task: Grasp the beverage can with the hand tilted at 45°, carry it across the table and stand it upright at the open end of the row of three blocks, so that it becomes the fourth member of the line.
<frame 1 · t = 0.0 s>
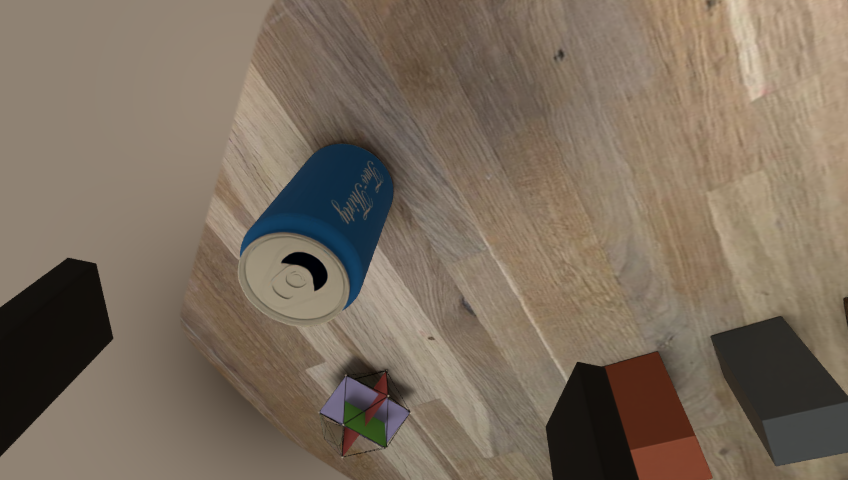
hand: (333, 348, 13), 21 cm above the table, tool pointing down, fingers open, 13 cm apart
block 2: (751, 348, 38), on the table
beverage can: (350, 182, 34), on the table
geometric puzzle: (372, 382, 44), on the table
block 3: (635, 379, 40), on the table
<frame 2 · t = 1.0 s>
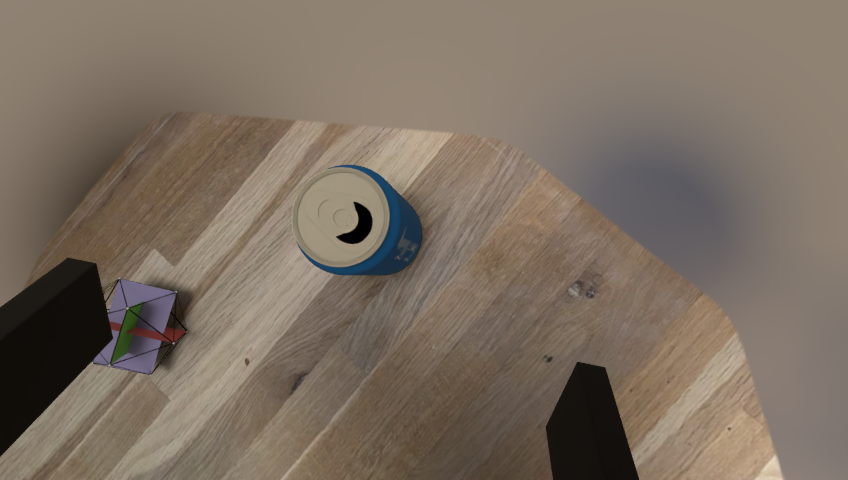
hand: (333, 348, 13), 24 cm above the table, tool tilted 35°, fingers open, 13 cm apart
beverage can: (383, 235, 38), on the table
geometric puzzle: (164, 322, 40), on the table
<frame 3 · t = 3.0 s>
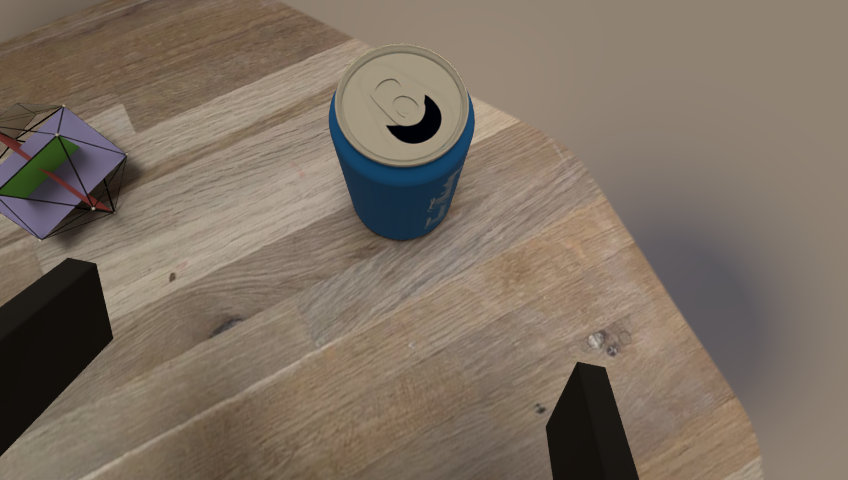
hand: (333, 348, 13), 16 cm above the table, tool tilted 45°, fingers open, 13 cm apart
beverage can: (401, 195, 32), on the table
geometric puzzle: (90, 192, 31), on the table
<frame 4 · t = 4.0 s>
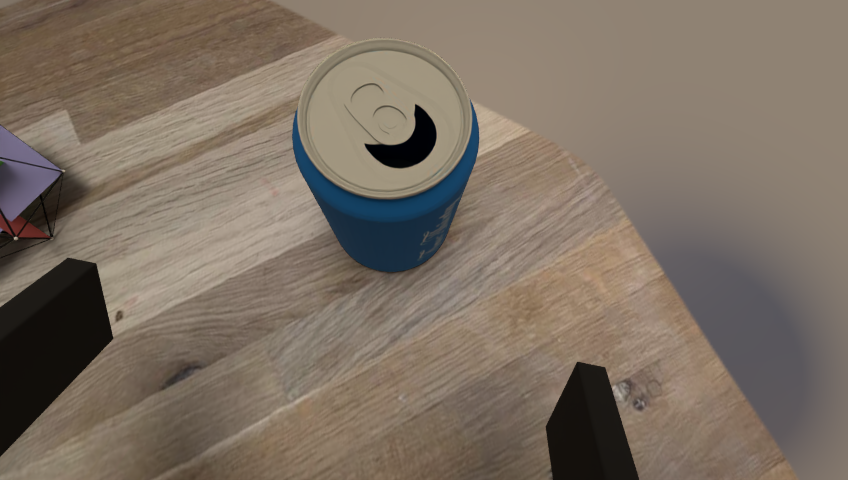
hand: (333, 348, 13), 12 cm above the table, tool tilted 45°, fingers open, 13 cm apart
beverage can: (392, 218, 27), on the table
geometric puzzle: (24, 213, 26), on the table
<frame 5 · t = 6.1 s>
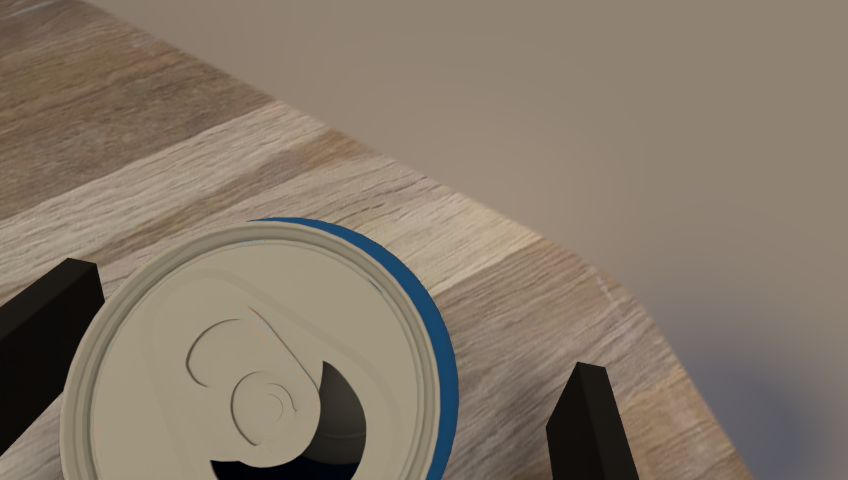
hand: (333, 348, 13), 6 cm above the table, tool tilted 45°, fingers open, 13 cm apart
beverage can: (345, 370, 19), on the table
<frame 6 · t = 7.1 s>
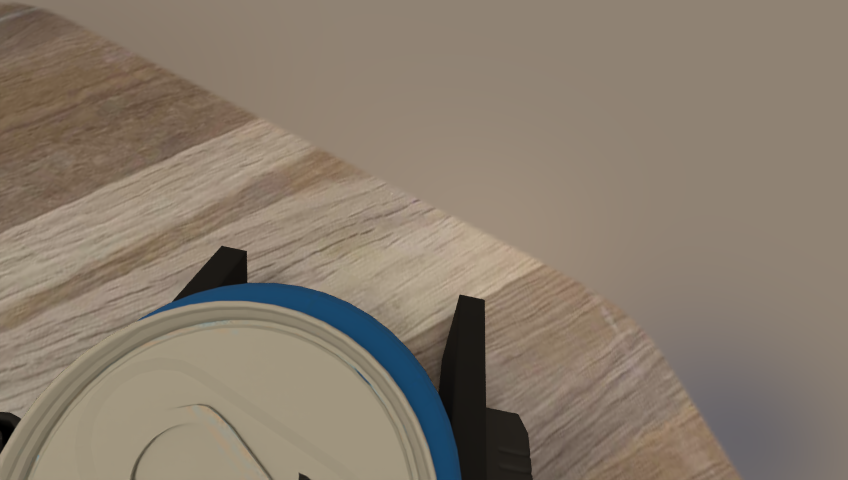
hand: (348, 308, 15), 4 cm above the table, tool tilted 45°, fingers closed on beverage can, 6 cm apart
beverage can: (337, 411, 18), on the table, touching gripper
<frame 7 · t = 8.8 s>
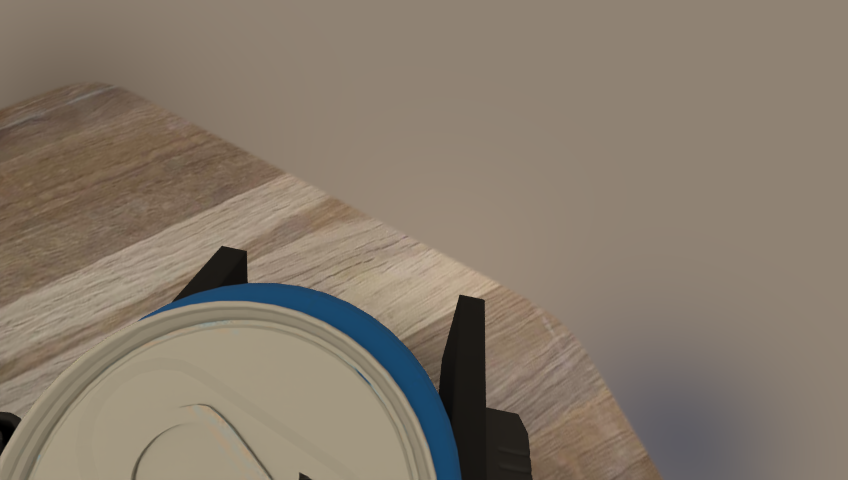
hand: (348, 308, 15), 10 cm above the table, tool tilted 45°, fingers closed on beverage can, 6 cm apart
beverage can: (337, 411, 18), point 6 cm above the table, touching gripper
when the fingers open (4 cm above the table, at t = 22.7 s): beverage can stays where it is, on the table.
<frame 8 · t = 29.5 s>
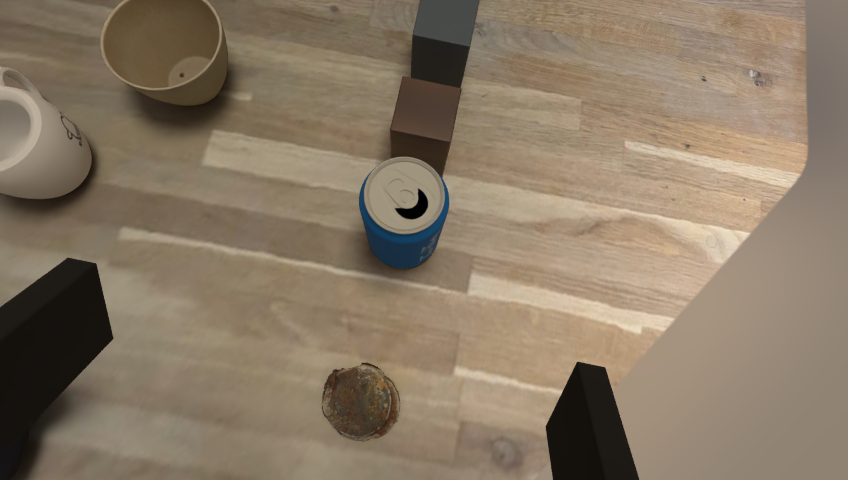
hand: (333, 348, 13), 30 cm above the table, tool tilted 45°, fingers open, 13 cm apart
mug: (58, 150, 45), on the table
block 2: (439, 69, 49), on the table
beverage can: (403, 236, 45), on the table
decorative disc: (361, 400, 41), on the table
block 1: (421, 149, 47), on the table
bowl: (197, 83, 47), on the table
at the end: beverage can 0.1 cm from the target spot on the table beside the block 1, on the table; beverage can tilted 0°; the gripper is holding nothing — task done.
